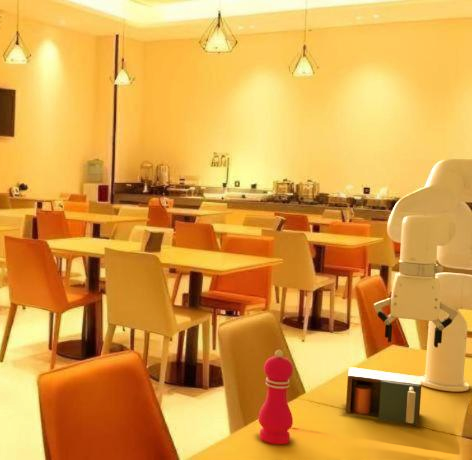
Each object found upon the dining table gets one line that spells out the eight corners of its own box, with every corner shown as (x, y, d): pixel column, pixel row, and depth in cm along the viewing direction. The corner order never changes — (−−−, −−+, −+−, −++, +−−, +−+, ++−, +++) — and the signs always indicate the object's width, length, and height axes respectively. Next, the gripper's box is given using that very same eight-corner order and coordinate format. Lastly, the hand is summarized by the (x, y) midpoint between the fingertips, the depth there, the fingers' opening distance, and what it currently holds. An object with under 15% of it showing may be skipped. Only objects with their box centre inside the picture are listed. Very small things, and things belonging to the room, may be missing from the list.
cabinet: (347, 406, 191) (349, 367, 190) (417, 416, 184) (420, 376, 183) (345, 415, 184) (347, 375, 183) (418, 426, 177) (421, 384, 176)
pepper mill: (293, 447, 162) (298, 355, 160) (258, 443, 164) (263, 352, 162) (289, 435, 169) (294, 347, 167) (256, 432, 171) (261, 344, 169)
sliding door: (378, 419, 180) (381, 380, 179) (416, 425, 177) (419, 385, 176) (377, 428, 174) (380, 387, 173) (417, 434, 171) (420, 393, 170)
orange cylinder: (353, 407, 187) (354, 383, 187) (370, 409, 186) (372, 386, 185) (352, 412, 184) (354, 387, 183) (370, 414, 182) (371, 390, 182)
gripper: (459, 270, 172) (453, 344, 174) (376, 264, 179) (372, 335, 181) (461, 275, 165) (455, 351, 167) (375, 269, 172) (371, 342, 174)
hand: (412, 343), depth 174 cm, fingers open, 9 cm apart
